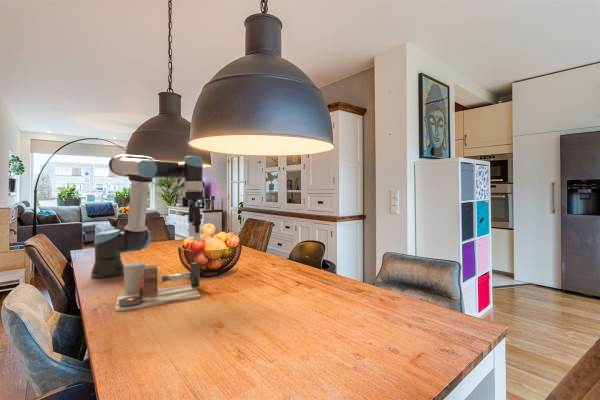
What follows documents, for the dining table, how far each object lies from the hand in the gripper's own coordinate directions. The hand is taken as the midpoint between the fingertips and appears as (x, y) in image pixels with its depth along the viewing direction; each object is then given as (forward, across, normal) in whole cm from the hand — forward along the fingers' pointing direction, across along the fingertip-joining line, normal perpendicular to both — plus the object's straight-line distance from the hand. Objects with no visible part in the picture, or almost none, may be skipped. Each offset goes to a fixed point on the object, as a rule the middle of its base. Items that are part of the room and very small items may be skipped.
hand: (194, 238), depth 136 cm
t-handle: (+21, 0, -6) cm, 22 cm away
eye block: (+23, +5, -15) cm, 28 cm away
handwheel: (+21, +10, -24) cm, 34 cm away
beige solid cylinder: (+23, -9, -24) cm, 34 cm away
